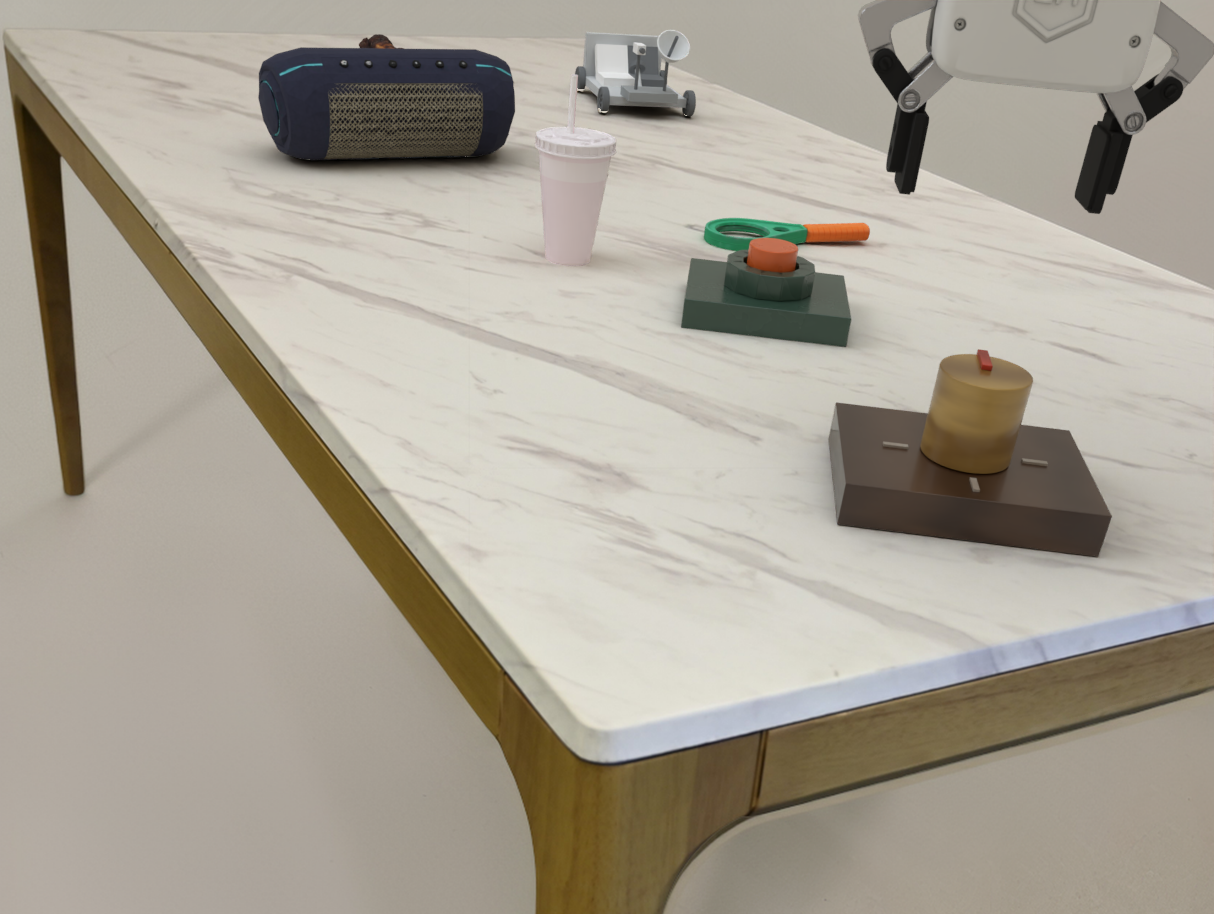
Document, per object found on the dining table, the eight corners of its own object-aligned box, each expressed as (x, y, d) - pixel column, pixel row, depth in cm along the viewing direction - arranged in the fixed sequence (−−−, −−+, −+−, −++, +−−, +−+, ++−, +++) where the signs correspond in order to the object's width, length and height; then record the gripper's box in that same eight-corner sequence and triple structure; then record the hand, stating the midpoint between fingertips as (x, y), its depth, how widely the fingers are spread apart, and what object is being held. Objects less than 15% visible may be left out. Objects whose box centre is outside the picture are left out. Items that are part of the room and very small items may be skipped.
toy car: (711, 35, 146) (614, 30, 143) (700, 124, 151) (607, 121, 148) (667, 10, 161) (579, 5, 158) (659, 92, 166) (573, 89, 163)
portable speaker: (278, 174, 117) (272, 58, 112) (254, 147, 125) (247, 37, 119) (528, 167, 127) (534, 60, 122) (493, 142, 135) (496, 41, 129)
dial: (1015, 479, 69) (1041, 389, 66) (923, 467, 69) (945, 376, 66) (1004, 441, 73) (1028, 355, 70) (917, 430, 73) (937, 343, 71)
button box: (838, 302, 100) (848, 252, 98) (845, 347, 91) (856, 293, 89) (687, 284, 100) (693, 234, 98) (680, 328, 92) (687, 274, 90)
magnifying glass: (716, 252, 108) (718, 232, 107) (694, 231, 113) (696, 212, 112) (877, 253, 112) (881, 234, 111) (849, 232, 117) (853, 214, 116)
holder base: (1058, 467, 77) (1070, 427, 75) (1098, 557, 68) (1113, 513, 66) (828, 439, 78) (836, 399, 76) (837, 524, 68) (846, 480, 67)
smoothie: (560, 241, 107) (571, 64, 99) (622, 260, 104) (638, 79, 97) (512, 257, 102) (520, 72, 95) (576, 277, 99) (589, 88, 92)
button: (794, 263, 95) (798, 240, 94) (795, 278, 92) (799, 254, 91) (746, 258, 95) (749, 235, 95) (746, 273, 92) (749, 249, 91)
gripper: (905, -203, 55) (835, 199, 64) (1310, -165, 54) (1181, 234, 63) (887, -202, 61) (826, 164, 70) (1249, -168, 60) (1140, 196, 70)
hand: (994, 197), depth 67 cm, fingers open, 9 cm apart
